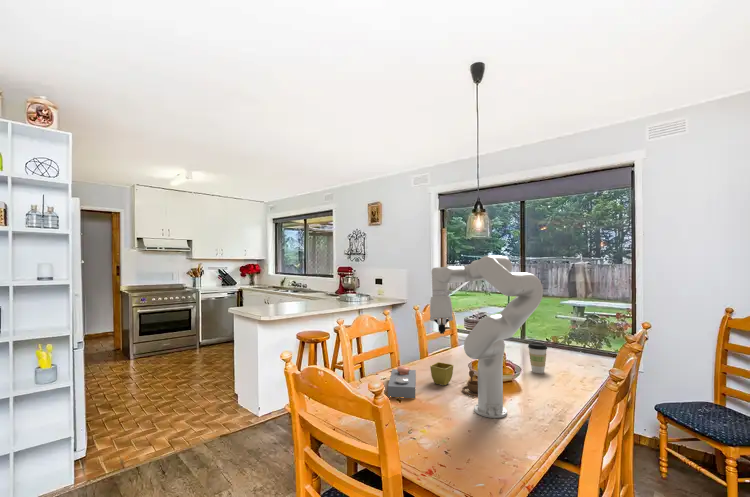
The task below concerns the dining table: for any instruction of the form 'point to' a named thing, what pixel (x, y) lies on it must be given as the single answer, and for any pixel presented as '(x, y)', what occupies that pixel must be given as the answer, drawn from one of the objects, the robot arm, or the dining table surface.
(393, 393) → the block
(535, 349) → the coffee cup
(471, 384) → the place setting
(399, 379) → the metal plunger
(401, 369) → the terracotta plunger
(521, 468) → the dining table surface
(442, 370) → the flower pot
